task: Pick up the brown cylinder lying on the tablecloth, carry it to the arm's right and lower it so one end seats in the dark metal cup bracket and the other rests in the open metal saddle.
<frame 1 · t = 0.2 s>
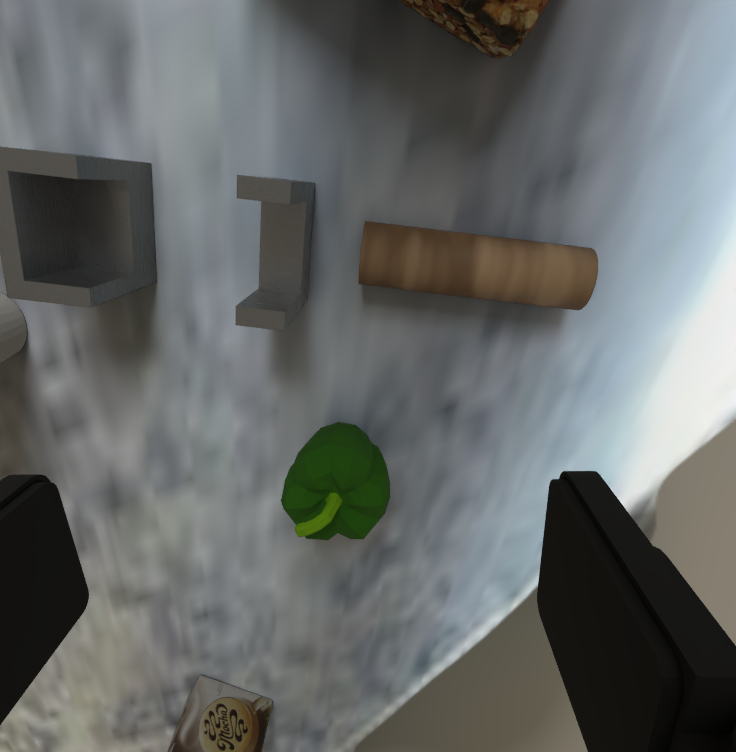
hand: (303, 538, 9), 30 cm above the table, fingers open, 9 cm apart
cup bracket: (127, 221, 37), on the table
brown cylinder: (472, 266, 35), point 2 cm above the table
saddle bracket: (291, 241, 37), on the table
bell pepper: (342, 449, 43), on the table
coffee box: (229, 701, 56), on the table
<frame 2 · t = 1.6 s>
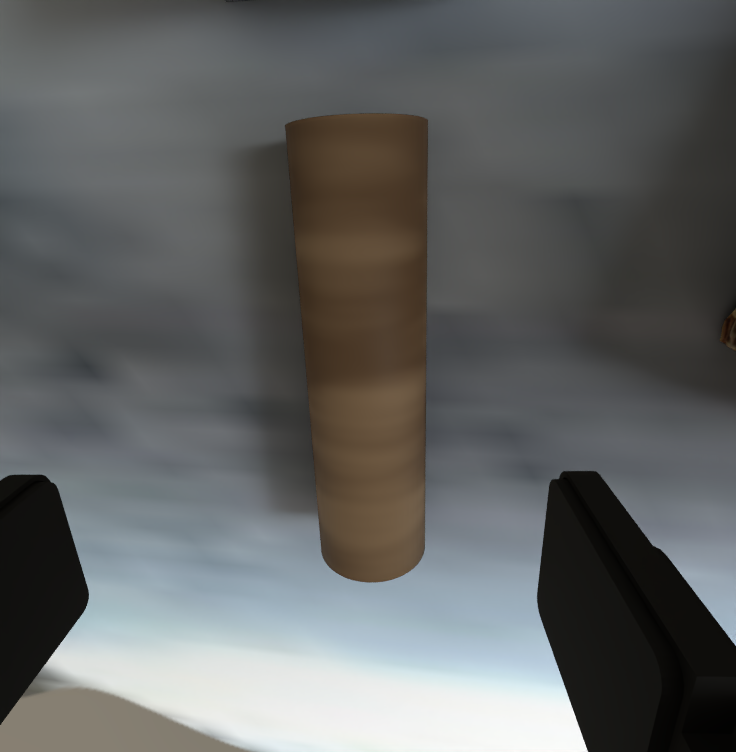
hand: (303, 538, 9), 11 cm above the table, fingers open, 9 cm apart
brown cylinder: (366, 367, 18), point 2 cm above the table
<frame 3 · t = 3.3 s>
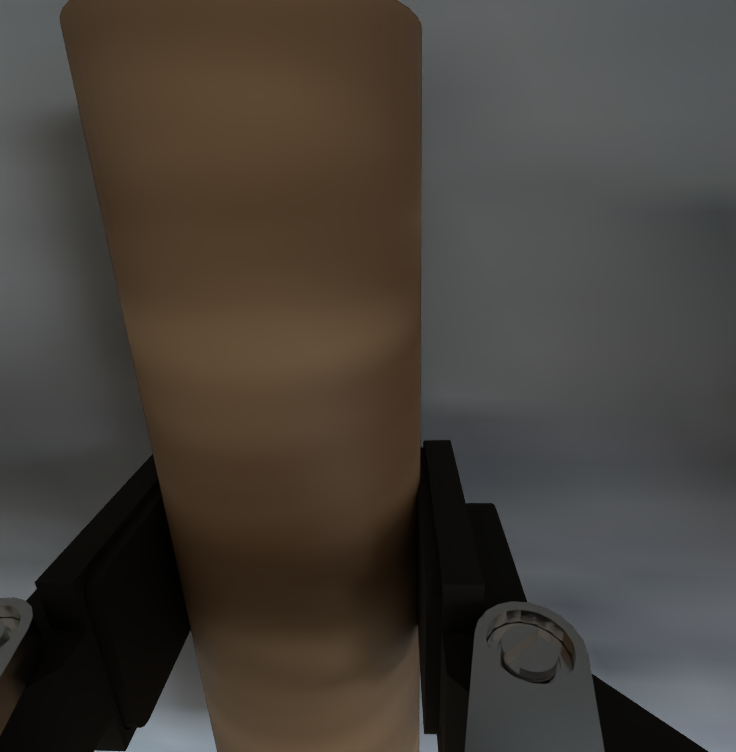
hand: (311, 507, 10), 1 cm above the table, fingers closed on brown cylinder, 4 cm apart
brown cylinder: (302, 540, 9), point 2 cm above the table, touching gripper
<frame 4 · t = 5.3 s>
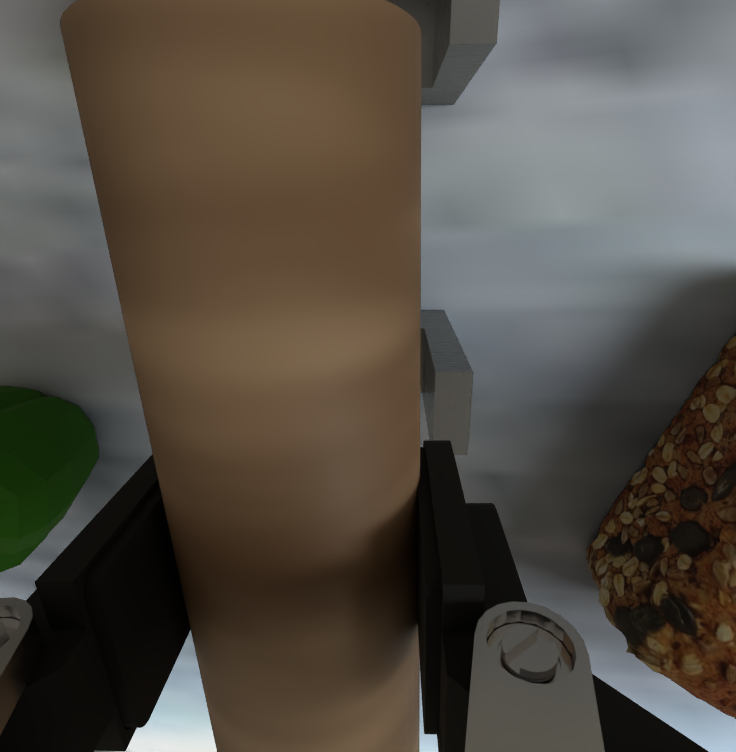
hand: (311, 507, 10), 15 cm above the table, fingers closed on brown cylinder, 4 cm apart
cup bracket: (353, 52, 20), on the table
brown cylinder: (303, 541, 9), point 16 cm above the table, touching gripper
saddle bracket: (358, 339, 25), on the table
bell pepper: (53, 429, 28), on the table
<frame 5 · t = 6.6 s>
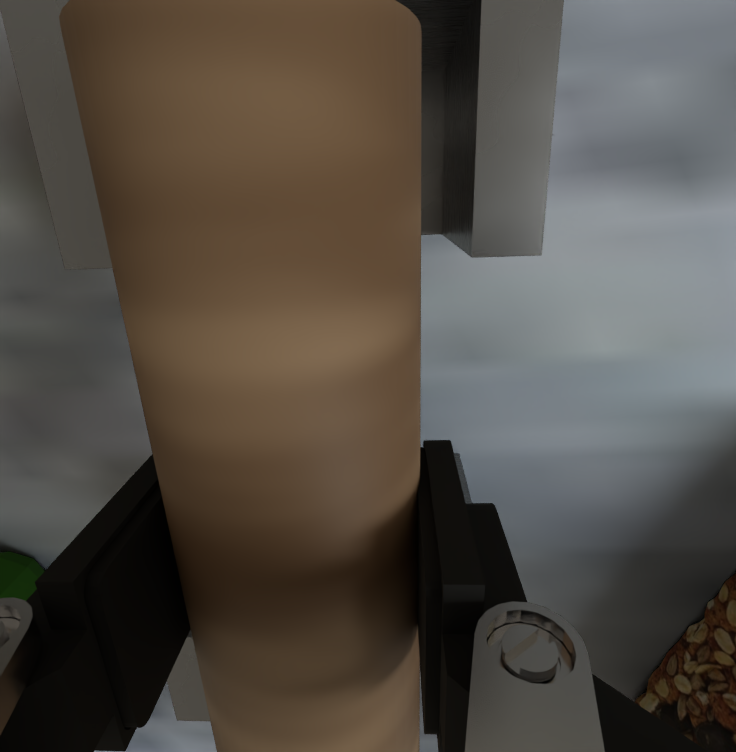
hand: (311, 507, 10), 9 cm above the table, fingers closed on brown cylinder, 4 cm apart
cup bracket: (340, 168, 16), on the table
brown cylinder: (302, 540, 9), point 10 cm above the table, touching gripper
saddle bracket: (356, 485, 21), on the table
bell pepper: (7, 579, 24), on the table
when the fingers open (6 cm above the table, at t = 7.6 s): brown cylinder drops 1 cm, resting on cup bracket, saddle bracket.
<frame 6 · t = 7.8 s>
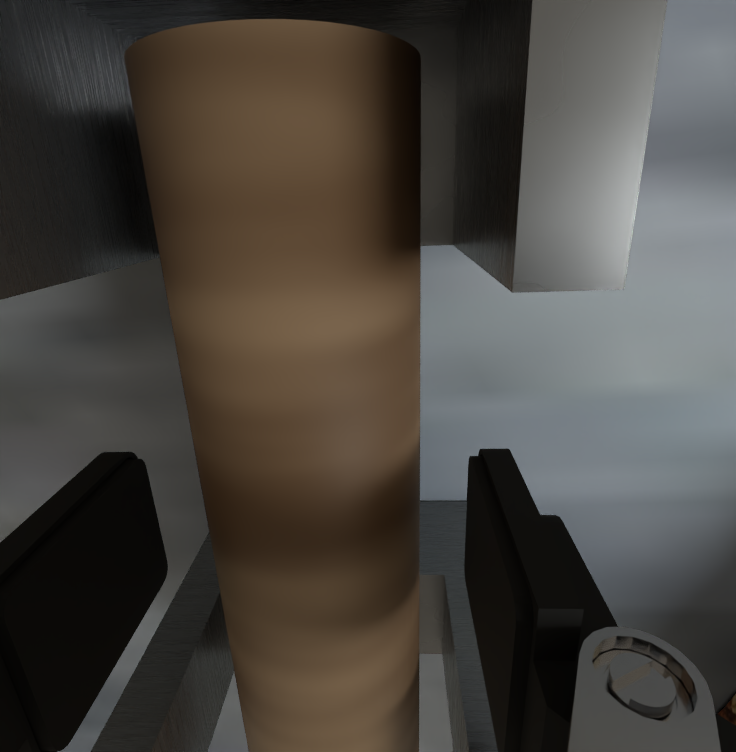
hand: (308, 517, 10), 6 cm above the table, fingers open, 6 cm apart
cup bracket: (325, 160, 13), on the table
brown cylinder: (315, 501, 10), point 6 cm above the table, touching cup bracket, saddle bracket
saddle bracket: (347, 536, 18), on the table
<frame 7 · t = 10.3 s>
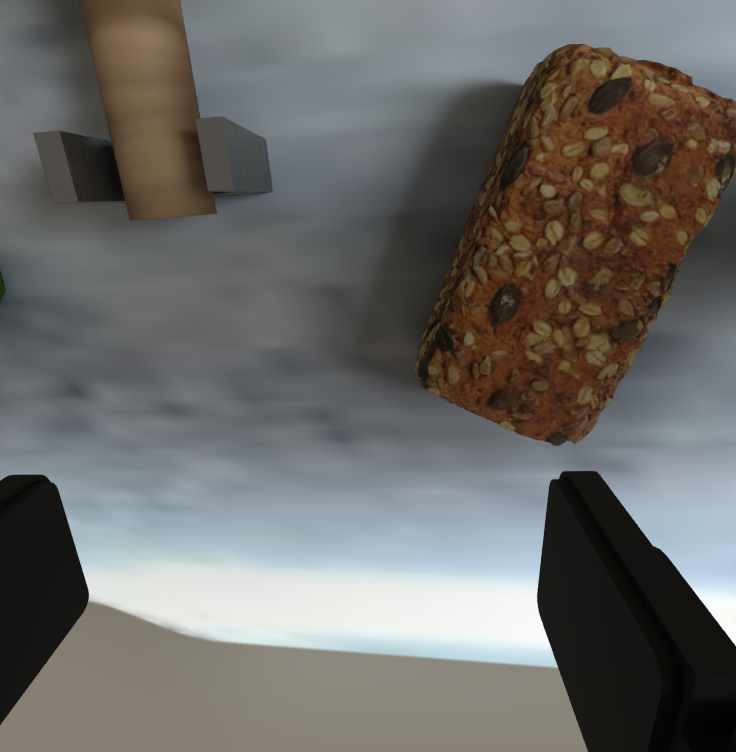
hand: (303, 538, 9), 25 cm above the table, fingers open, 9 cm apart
bread: (528, 251, 32), on the table
brown cylinder: (139, 42, 23), point 6 cm above the table, touching cup bracket, saddle bracket
saddle bracket: (201, 171, 31), on the table
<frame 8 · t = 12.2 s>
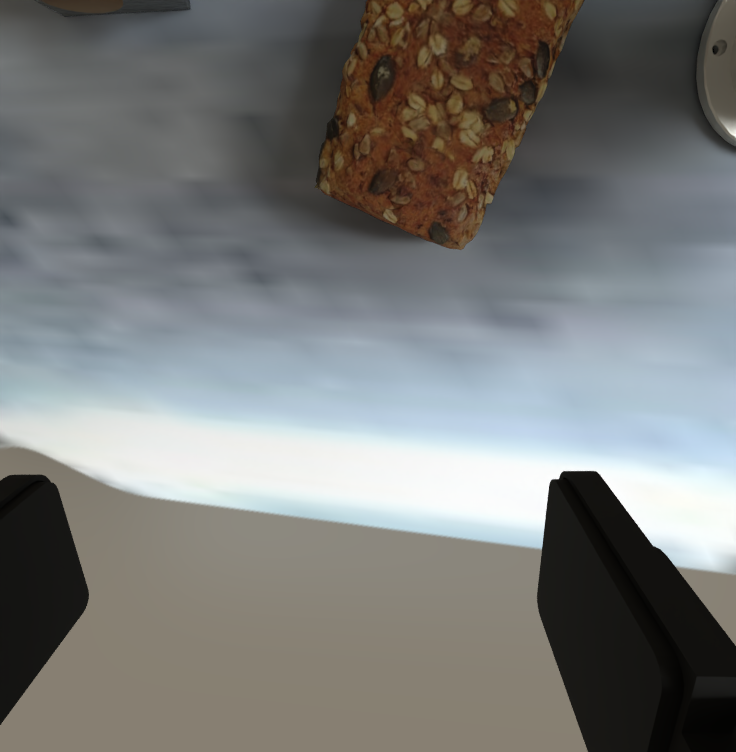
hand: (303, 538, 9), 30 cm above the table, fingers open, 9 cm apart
bread: (439, 84, 33), on the table
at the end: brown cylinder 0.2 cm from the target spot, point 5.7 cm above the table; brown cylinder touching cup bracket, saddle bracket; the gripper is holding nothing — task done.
